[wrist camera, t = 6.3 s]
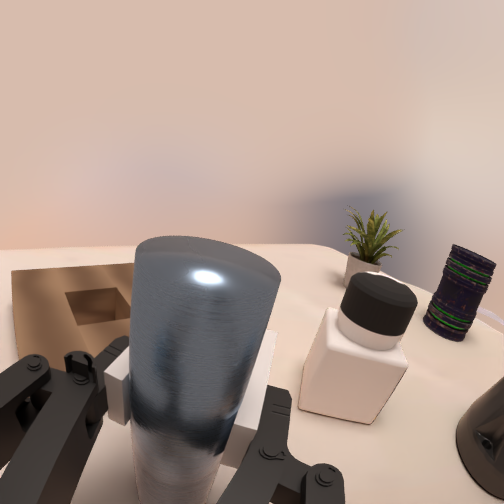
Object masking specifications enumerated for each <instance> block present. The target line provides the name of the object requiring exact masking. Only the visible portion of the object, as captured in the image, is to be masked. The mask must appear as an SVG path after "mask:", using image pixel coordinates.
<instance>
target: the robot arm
mask: <svg viewBox="0 0 504 504" xmlns="http://www.w3.org/2000/svg"><path fill="white" fill-rule="evenodd" d="M277 334H278V332H276V331H272V330H269V329H266V331H265V334H264V337H263V340H262V343H261V347H260V350H259V353H258V356H257V359H256V362H255V365H254V368H253V371H252V374H251V377H250V380H249V383H248V386H247V389H246V392H245V395H244V398H243V401H242V404H241V406H240V408H239V410H238V412H237V415H236V418H235V421H234V424H233V427H232V430H231V433H230V436H229V438H228V441H227V444H226V447H225V450H224V453H223V455H222V458H221V461H220V464H223V465H226V466H230V467H233V468H237V469H238V470H237V471H236V473H235V475H234V476H233V478H232V480H231V481H230V483H229V484H228V486H227V488H226V489H225V491H224V492H223V494H222V496H221V497H220V499H219V500H218V502H217V503H216V504H269V502H271V503H273V504H345V493H344V479H343V476H342V473H341V472H340V471H339V470H338V469H337V468H336V467H334V466H332V465H329V464H325V463H323V464H316V465H314V466H312V467H311V466H309V465H307V464H305V463H302V462H300V461H299V460H297V459H295V458H294V457H293V456H292V455H291V453H290V452H289V450H288V447H287V439H288V430H289V422H290V413H291V403H292V398H291V396H290V394H289V391H288V390H285V389H281V388H277V387H273V386H270V385H267V384H268V379H269V374H270V369H271V364H272V360H273V355H274V350H275V345H276V339H277ZM64 361H65V367H66V371H61V370H58V369H54V368H51V367H50V366H49V362H48V360H47V359H46V358H45V357H44V356H42V355H39V354H30V355H27V356H25V357H23V358H22V359H20V360H19V361H18V362H16V363H15V364H13V365H12V366H10V367H9V368H7V369H6V370H5V371H3V372H2V373H0V470H1V469H2V468H3V467H4V466H5V465H6V464H7V463H8V462H9V461H10V462H9V464H8V465H7V467H6V469H5V471H4V473H3V475H2V476H1V478H0V504H70V503H71V500H72V497H73V495H74V492H75V490H76V487H77V484H78V482H79V479H80V477H81V474H82V472H83V469H84V467H85V464H86V462H87V460H88V457H89V455H90V452H91V450H92V448H93V445H94V443H95V441H96V438H97V436H98V434H99V431H100V429H101V427H102V424H103V415H104V414H105V413H106V412H107V410H108V416H109V419H111V420H113V421H115V422H117V423H119V424H121V425H123V426H125V425H126V424H127V422H128V421H129V420H130V402H129V337H128V336H126V335H124V336H121V337H119V338H116V339H114V340H113V341H112V342H111V343H110V344H109V346H107V347H106V348H105V349H104V350H103V351H101V352H100V353H99V354H98V355H97V356H96V357H95V358H94V357H93V356H92V355H91V354H89V353H87V352H84V351H72V352H69V353H67V354H66V355H65V356H64ZM28 397H29V398H28ZM457 444H458V448H459V452H460V455H461V457H462V460H463V462H464V464H465V466H466V467H467V469H468V471H469V472H470V474H471V475H472V476H473V478H474V479H475V480H476V481H477V482H478V483H479V484H480V485H481V486H482V487H483V488H484V489H486V490H487V491H488V492H490V493H491V494H493V495H495V496H497V497H499V498H502V499H504V377H503V378H501V379H500V380H499V381H498V382H497V383H496V384H495V385H494V386H492V387H491V388H490V389H489V390H488V391H487V392H486V393H484V394H483V395H482V396H481V397H479V398H478V399H477V400H476V401H475V402H474V403H473V404H472V405H471V406H470V408H469V409H468V410H467V412H466V413H465V414H464V416H463V417H462V418H461V420H460V422H459V424H458V427H457Z"/></svg>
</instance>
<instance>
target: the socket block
mask: <svg viewBox="0 0 504 504" xmlns="http://www.w3.org/2000/svg"><path fill="white" fill-rule="evenodd" d="M133 272H134V263H126V264H111V265H95V266H79V267H64V268H48V269H32V270H16V271H11V276H12V302H13V315H14V326H15V335H16V342H17V349H18V356H19V360H20V359H22V358H23V357H25V356H27V355H30V354H39V355H42V356H44V357H45V358H46V359H47V360H48V362H49V366H50V367H51V368H54V369H58V370H61V371H66V367H65V361H64V356H65V355H66V354H67V353H69V352H72V351H84V352H87V353H89V354H91V355H92V356H93V357H94V358H95V357H96V356H97V355H98V354H99V353H100V352H101V351H103V350H104V349H105V348H106V347H107V346H109V344H110V343H111V342H112V341H113V340H114V339H116V338H119V337H121V336H124V335H126V336H128V337H129V333H130V311H131V296H132V283H133ZM28 398H29V397H28Z"/></svg>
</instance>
